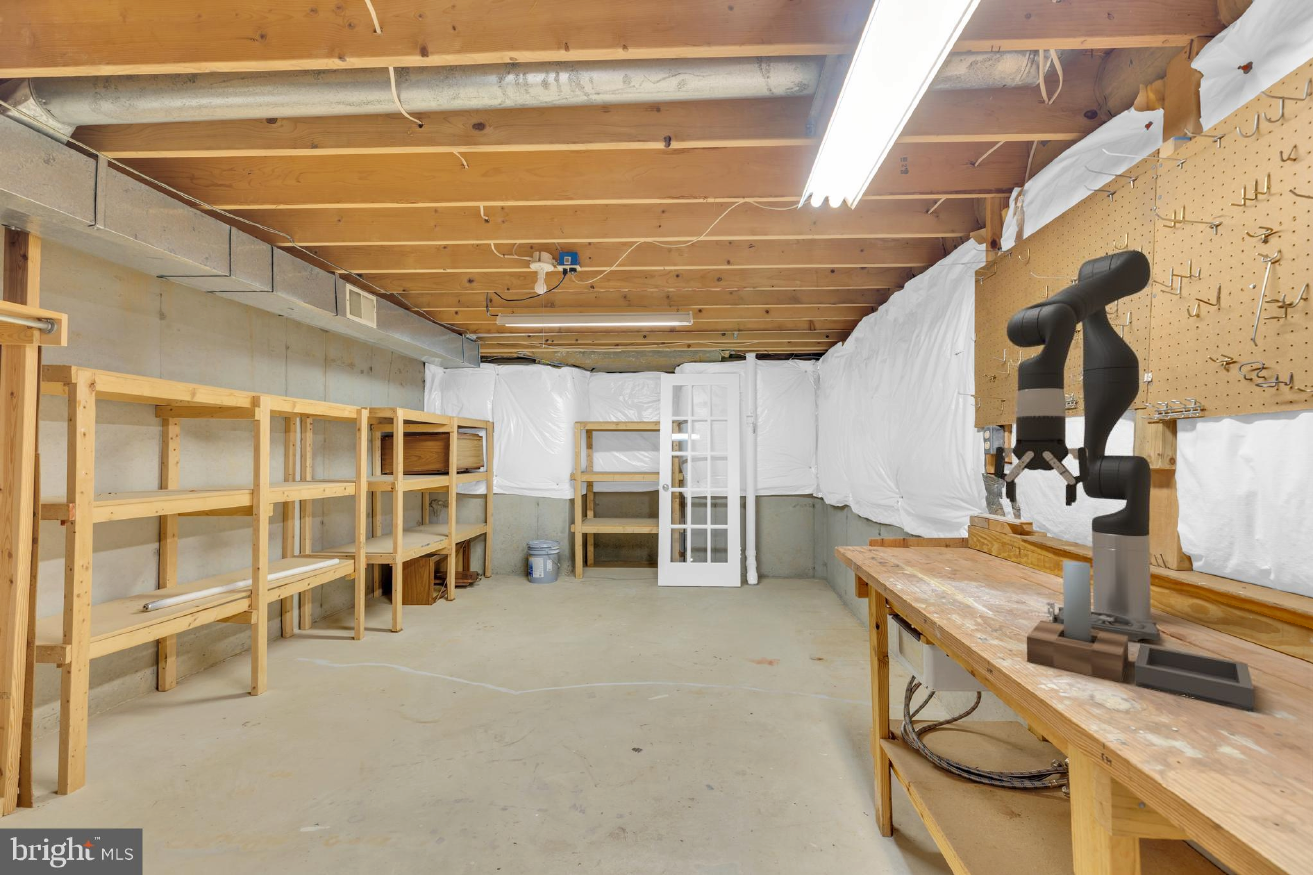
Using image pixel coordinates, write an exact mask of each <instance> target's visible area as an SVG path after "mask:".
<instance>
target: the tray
mask: <svg viewBox="0 0 1313 875" xmlns="http://www.w3.org/2000/svg"><path fill="white" fill-rule="evenodd" d="M1134 677H1135V678H1134V685H1135V686H1137V687H1140V686H1142V687H1141V688H1146V689H1149V688H1151V689H1150V690H1154V689H1155V691H1158V690H1160V691H1159V692H1163V693H1167V692H1169V694H1172V695H1176V694H1178V695H1177V696H1181V695H1185V696H1188V697H1187V698H1190V697H1194V698H1196V699H1195V700H1198V699H1200V701H1204V702H1208V703H1213V704H1217V705H1221V706H1226V707H1231V708H1235V709H1240V710H1244V711H1248V712H1254V713H1255V696H1254V695H1255V694H1254V693H1255V692H1254V685H1253V682H1252V677H1251V673H1250V670H1249V665H1248V663H1246V662H1240V661H1235V660H1229V659H1225V658H1219V657H1218V658H1217V657H1214V656H1213V657H1212V656H1208V655H1207V656H1206V655H1202V654H1196V653H1191V652H1186V651H1181V650H1175V649H1169V648H1163V647H1158V646H1154V645H1148V644H1142V643H1140V644H1139V648H1138V651H1137V656H1136V659H1135V663H1134ZM1185 696H1184V697H1185ZM1194 698H1193V699H1194Z"/></svg>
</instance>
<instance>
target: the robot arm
mask: <svg viewBox="0 0 1313 875" xmlns="http://www.w3.org/2000/svg"><path fill="white" fill-rule="evenodd" d="M1150 278H1151V265H1150V261H1149V259H1148V257H1147V255H1146V254H1145V253H1143V252H1141V251H1140V250H1137V249H1134V250H1133V249H1132V250H1131V249H1128V250H1123V251H1119V252H1115V253H1112V254H1107V255H1103V256H1100V257H1097V258H1096V257H1095V258H1093V259H1089V260H1086V261H1084V262H1083V263H1082V264H1081V265H1080V268H1079V269H1078V273H1077V283H1074V284H1072V285H1069V286H1067V287H1064V288H1063V289H1061V290H1060V291H1059V292H1056V293H1055V294H1053V295H1051V296H1050V297H1049V298H1047V299H1045V300H1043V301H1040V302H1038V303H1035V304H1032V305H1030V306H1027V307H1025V308H1022V309H1020V310H1018V311H1017V312H1015V313H1014V314H1013V315H1012V316H1011V318H1010V319H1009V320H1008V323H1007V326H1006V335H1007V336H1006V337H1007V338H1008V340H1009V342H1010V343H1011V344H1012V345H1013V346H1016V347H1019V348H1023V349H1024V348H1026V349H1027V348H1034V347H1040V346H1043V347H1042V349H1041V351H1040V352H1039V354H1037V355H1035V356H1033V357H1029V358H1027V359H1025V360H1023V361H1021V362H1020V363H1019V364H1018V367H1017V397H1016V403H1015V413H1014V414H1015V445H1014V446H1013V447H1004V446H997V447H996V448H995V456H994V457H995V458H994V468H993V470H994V471H993V477H994V478H996V479H1000V480H1003V481H1004V482H1005V499H1007V500H1009V503H1016V502H1017V482H1016V481H1015V480H1016V479H1017V478H1018V477H1019V476H1020V475H1021V474H1022V473H1023V472H1024V471H1025V470H1028V471H1039V470H1041V471H1046V472H1047V471H1048V472H1051V471H1054V470H1055V471H1056V472H1057V473H1058V474H1059V476H1061V478H1062V479H1064V480H1065V482H1066V484H1065V506H1066V507H1067V506H1068V507H1071V506H1072V505H1073V504H1075V503H1076V501H1077V499H1078V498H1077V497H1078V496H1077V495H1078V494H1077V493H1078V488H1077V487H1078V484H1080V483H1081V484H1082V489H1083V491H1084V494H1085V495H1086V496H1087V497H1088V498H1092V499H1100V500H1101V499H1102V500H1115V501H1117V500H1118V501H1119V500H1120V501H1126V502H1125V505H1124V507H1123V508H1122V509H1120V510H1118V511H1116V512H1115V511H1114V512H1112V513H1109V514H1103V515H1098V516H1095V517H1094V518H1092V520H1091V542H1092V543H1091V544H1092V546H1091V548H1092V612H1099V613H1106V614H1113V615H1119V616H1126V617H1133V618H1139V619H1146V620H1152V615H1151V614H1152V612H1151V608H1152V607H1151V601H1152V600H1151V599H1152V598H1151V595H1152V594H1151V548H1150V547H1151V546H1150V544H1151V543H1150V540H1151V538H1150V520H1151V519H1150V518H1151V517H1150V513H1151V511H1150V510H1151V509H1150V506H1151V505H1150V504H1151V488H1152V485H1151V484H1152V470H1151V466H1150V462H1149V461H1148V459H1147V458H1145V457H1144V456H1142V455H1110V454H1108V455H1106V446H1107V442H1108V440H1109V437H1110V434H1111V433H1112V431H1113V429H1114V428H1115V426H1116V425H1117V424H1118V422H1119V421H1120V419H1121V418H1122V416H1124V415H1125V413H1126V412H1127V410H1128V409H1129V408H1130V407H1131V405H1132V404H1133V403H1134V401H1135V399H1136V398H1137V396H1138V393H1139V392H1140V363H1139V358H1138V356H1137V355H1136V353H1135V351H1134V350H1133V349H1132V347H1131V346H1130V345H1129V344H1128V343H1127V342H1126V341H1125V340H1124V339H1123V338H1122V337H1121V335H1119V334H1118V332H1117V331H1116V330H1115V328H1114V327H1113V326H1112V324H1111V323H1110V321H1109V317H1108V314H1107V310H1106V307H1107V306H1109V305H1111V304H1113V303H1115V302H1117V301H1119V300H1122V299H1124V298H1125V297H1129V296H1132V295H1136V294H1138V293H1141V291H1143V290H1144V289H1145V288H1146V287H1147V286H1148V284H1149V281H1150V280H1151V279H1150ZM1079 324H1081V326H1082V328H1081V329H1082V393H1083V414H1084V416H1083V418H1084V431H1083V447H1082V446H1080V447H1075V448H1074V447H1073V448H1072V447H1071V448H1068V447H1067V443H1066V438H1067V437H1066V434H1067V433H1066V432H1067V431H1066V425H1067V424H1066V420H1067V419H1066V418H1067V417H1066V416H1067V415H1066V414H1067V412H1066V408H1067V406H1066V405H1067V404H1066V403H1067V402H1066V396H1065V366H1066V362H1067V360H1068V356H1069V351H1070V349H1071V346H1072V343H1073V340H1074V337H1075V335H1076V331H1077V325H1079ZM1012 454H1013V456H1014V457H1015V458H1016V459H1017V460H1018V462H1017V463H1016V464H1015V465H1014V466H1013V467H1012V468H1011V470H1010V471H1009V472H1008V473H1005V466H1006V465H1005V464H1006V459H1009V458H1010V455H1012ZM1069 455H1071V456H1072V458H1073V459H1074V460H1076V461H1077V462H1078V473H1079V474H1078V475H1076V476H1074V474H1072V472H1070V470H1069V469H1068V468H1067V467H1066V465H1064V463H1063V462H1064V460H1065V459H1066V458H1067V457H1068V456H1069Z"/></svg>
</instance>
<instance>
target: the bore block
mask: <svg viewBox="0 0 1313 875" xmlns="http://www.w3.org/2000/svg"><path fill="white" fill-rule="evenodd" d="M1028 661H1029V663H1033V664H1037V665H1043V666H1046V667H1051V668H1055V669H1060V670H1065V671H1069V672H1074V673H1078V674H1082V675H1087V676H1091V677H1095V678H1100V679H1104V680H1105V679H1106V680H1109V681H1114V682H1119V683H1123V682H1124V681H1123V680H1124V676H1125V673H1126V670H1127V666H1128V664H1129V640H1128V636H1127V635H1121V634H1116V633H1110V632H1104V631H1099V630H1093V629H1091V643H1089V642H1084V641H1078V640H1073V639H1068V638H1064V624H1059V623H1053V622H1049V620H1042V619H1040V620H1039V622H1038V623H1037V624H1036V625H1035V627H1034V628H1033V629H1032V630H1031V631H1030V633H1029V634H1028V635H1027V636H1026V662H1028Z"/></svg>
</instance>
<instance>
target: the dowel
mask: <svg viewBox="0 0 1313 875" xmlns="http://www.w3.org/2000/svg"><path fill="white" fill-rule="evenodd" d="M1062 581H1063V582H1062V586H1063V587H1062V589H1063V592H1062V593H1063V594H1062V595H1063V607H1064V638H1068V639H1073V640H1078V641H1084V642H1089V643H1091V611H1092V598H1091V596H1092V594H1091V593H1092V591H1091V589H1092V588H1091V586H1092V585H1091V584H1092V583H1091V564H1090V563H1088V562H1084V561H1076V560H1064V561H1063V562H1062Z"/></svg>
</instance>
